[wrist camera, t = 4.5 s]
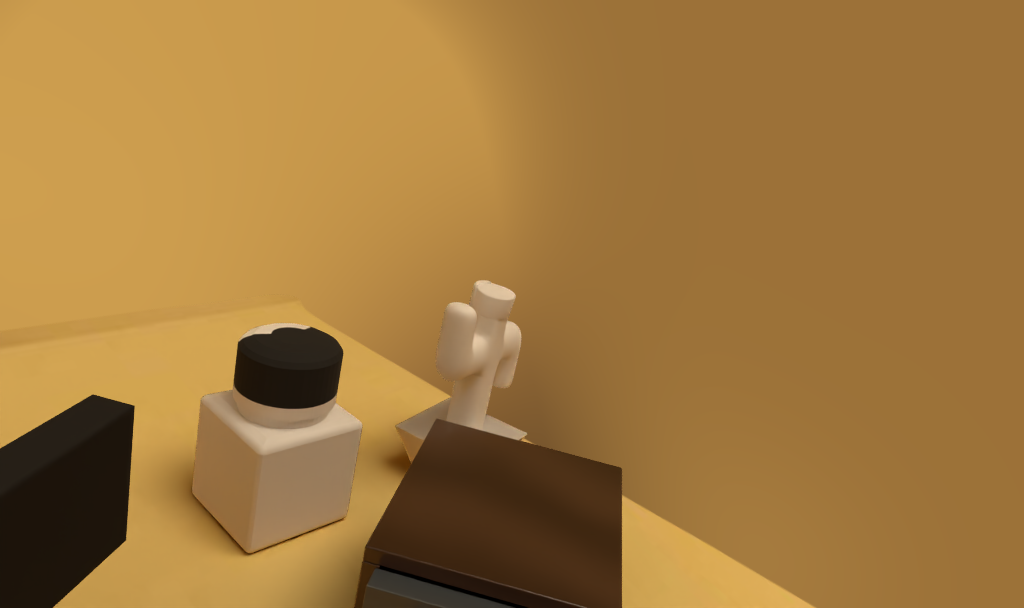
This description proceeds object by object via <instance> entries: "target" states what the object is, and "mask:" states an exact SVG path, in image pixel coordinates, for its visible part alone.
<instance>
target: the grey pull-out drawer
mask: <svg viewBox="0 0 1024 608" xmlns="http://www.w3.org/2000/svg"><path fill="white" fill-rule="evenodd" d="M362 608H528V607H524V606H521V605H517V604H514V603H510V602H507V601H503V600H500V599H496V598H493V597H489V596H486V595H482V594H479V593H475V592H472V591H468V590H465V589H461V588H458V587H454V586H451V585H447V584H443V583H440V582H436V581H433V580H429V579H426V578H422V577H419V576H415V575H412V574H408V573H405V572H401V571H398V570H396V574H395V573H392V572H388V571H384V570H381V569H377V568H375V570H374V571H373V573H372V575H371V577H370V579H369V581H368V583H367V585H366V590H365V595H364V600H363V606H362Z"/></svg>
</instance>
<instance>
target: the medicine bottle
mask: <svg viewBox="0 0 1024 608" xmlns="http://www.w3.org/2000/svg"><path fill="white" fill-rule="evenodd" d="M342 359H343V349H342V347H341V346H340V344H339V343H338V342H337V340H336V339H334V338H333V337H332V336H330V335H328V334H327V333H325V332H322V331H320V330H318V329H315V328H312V327H309V326H305V325H300V324H293V323H275V324H269V325H263V326H259V327H255V328H253V329H251V330H249V331H248V332H246V333H245V334H244V335H243V336H242V337H241V338H240V339H239V341H238V348H237V357H236V366H235V375H234V384H233V390H229V391H223V392H218V393H213V394H208V395H205V396H203V397H202V399H201V403H200V413H199V423H198V434H197V444H196V455H195V465H194V475H193V486H192V492H193V495H194V496H195V497H196V498H197V499H198V500H199V501H200V502H201V503H202V505H203V506H204V507H205V508H206V509H207V510H208V511H209V512H210V513H211V514H212V516H213V517H214V518H215V519H216V520H217V521H218V522H219V523H220V524H221V525H222V526H223V528H224V529H225V530H226V531H227V532H228V533H229V534H230V535H231V536H232V537H233V538H234V540H235V541H236V542H237V543H238V544H239V545H240V546H241V547H242V548H243V549H244V550H245V551H246V552H247V553H253V552H256V551H258V550H261V549H263V548H266V547H269V546H271V545H274V544H277V543H279V542H282V541H284V540H287V539H290V538H292V537H295V536H298V535H300V534H303V533H305V532H308V531H311V530H313V529H316V528H319V527H321V526H324V525H326V524H329V523H332V522H334V521H337V520H340V519H342V518H344V517H346V515H347V512H348V506H349V501H350V495H351V489H352V483H353V478H354V472H355V466H356V461H357V455H358V449H359V443H360V438H361V432H362V423H361V422H360V421H359V420H358V419H356V418H355V417H354V416H353V415H351V414H350V413H349V412H347V411H346V410H345V409H343V408H342V407H341V406H339V405H338V404H337V403H335V402H336V396H337V390H338V384H339V377H340V371H341V365H342Z"/></svg>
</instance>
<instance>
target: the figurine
mask: <svg viewBox="0 0 1024 608" xmlns="http://www.w3.org/2000/svg"><path fill="white" fill-rule="evenodd" d="M515 297H516V296H515V294H514V293H513V292H512V291H511V290H509V289H507V288H505V287H503V286H499V285H496V284H491V282H490V281H477V282H475V284H474V286H473V290H472V294H471V299H470V303H469V305H468V304H464V303H460V302H453V303H450V304H449V305H448V306H447V307H446V309H445V312H444V316H443V321H442V326H441V331H440V336H439V341H438V346H437V352H436V368H437V371H438V373H439V375H440V376H441V377H442V378H443V379H445V380H447V381H455V382H454V387H453V391H452V396H451V397H450V398H448V399H446V400H444V401H442V402H440V403H438V404H436V405H434V406H432V407H430V408H429V409H427V410H425V411H423V412H421V413H419V414H417V415H415V416H413V417H411V418H409V419H407V420H405V421H403V422H401V423H399V424H397V425H395V427H396V429H397V431H398V434H399V436H400V438H401V441H402V443H403V445H404V448H405V450H406V452H407V455H408V457H409V459H410V462H411V463H412V461H413V460H414V458H415V456H416V454H417V452H418V451H419V449H420V447H421V445H422V443H423V442H424V440H425V438H426V436H427V434H428V433H429V431H430V429H431V427H432V425H433V424H434V422H435V420H436V419H441V420H445V421H448V422H452V423H456V424H459V425H463V426H467V427H471V428H474V429H478V430H482V431H486V432H489V433H493V434H497V435H500V436H504V437H508V438H512V439H515V440H519V441H521V440H522V439H523V438H524V437H525V436H526V435H527V433H526V432H523V431H521V430H519V429H517V428H515V427H513V426H511V425H508V424H506V423H504V422H502V421H500V420H498V419H496V418H494V417H491V416H489V415H487V414H486V411H487V407H488V402H489V398H490V394H491V390H492V385H493V386H495V387H498V388H507V387H509V386H510V385H511V383H512V380H513V376H514V372H515V368H516V364H517V360H518V355H519V351H520V346H521V332H520V329H519V328H518V326H517V325H516V324H514V323H513V322H510V321H507V320H508V317H509V315H510V312H511V309H512V306H513V303H514V300H515Z"/></svg>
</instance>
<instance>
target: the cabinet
mask: <svg viewBox="0 0 1024 608" xmlns="http://www.w3.org/2000/svg"><path fill="white" fill-rule="evenodd" d="M375 568H377V569H381V570H384V571H388V572H392V573H395V574H396V570H398V571H401V572H405V573H408V574H412V575H415V576H419V577H422V578H426V579H429V580H433V581H436V582H440V583H443V584H447V585H451V586H454V587H458V588H461V589H465V590H468V591H472V592H475V593H479V594H482V595H486V596H489V597H493V598H496V599H500V600H503V601H507V602H510V603H514V604H517V605H521V606H524V607H528V608H622V469H621V468H620V467H616V466H612V465H609V464H604V463H601V462H597V461H593V460H590V459H586V458H582V457H579V456H575V455H571V454H568V453H564V452H560V451H556V450H553V449H549V448H545V447H541V446H538V445H534V444H530V443H527V442H523V441H519V440H515V439H512V438H508V437H504V436H500V435H497V434H493V433H489V432H486V431H482V430H478V429H474V428H471V427H467V426H463V425H459V424H456V423H452V422H448V421H445V420H441V419H436V420H435V422H434V424H433V425H432V427H431V429H430V431H429V433H428V434H427V436H426V438H425V440H424V442H423V443H422V445H421V447H420V449H419V451H418V452H417V454H416V456H415V458H414V460H413V461H412V463H411V465H410V467H409V469H408V470H407V472H406V474H405V476H404V478H403V479H402V481H401V483H400V485H399V487H398V489H397V490H396V492H395V494H394V496H393V498H392V499H391V501H390V503H389V505H388V507H387V508H386V510H385V512H384V514H383V516H382V517H381V519H380V521H379V523H378V525H377V526H376V528H375V530H374V532H373V534H372V535H371V537H370V539H369V541H368V543H367V544H366V546H365V552H364V557H363V562H362V567H361V572H360V578H359V583H358V588H357V594H356V599H355V605H354V608H362V606H363V600H364V595H365V590H366V585H367V583H368V581H369V579H370V577H371V575H372V573H373V571H374V570H375Z"/></svg>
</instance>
